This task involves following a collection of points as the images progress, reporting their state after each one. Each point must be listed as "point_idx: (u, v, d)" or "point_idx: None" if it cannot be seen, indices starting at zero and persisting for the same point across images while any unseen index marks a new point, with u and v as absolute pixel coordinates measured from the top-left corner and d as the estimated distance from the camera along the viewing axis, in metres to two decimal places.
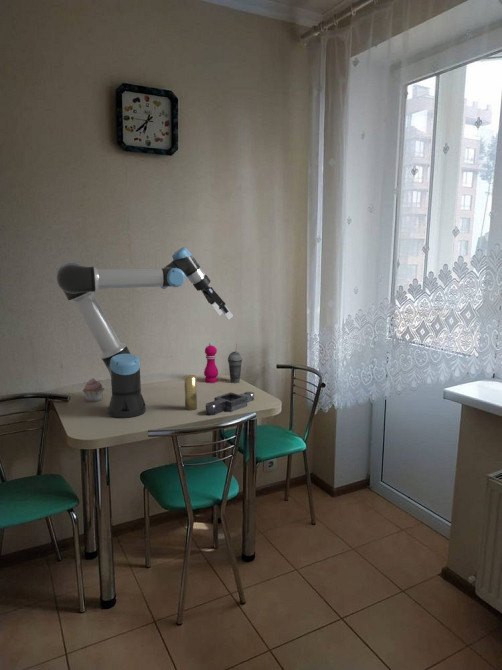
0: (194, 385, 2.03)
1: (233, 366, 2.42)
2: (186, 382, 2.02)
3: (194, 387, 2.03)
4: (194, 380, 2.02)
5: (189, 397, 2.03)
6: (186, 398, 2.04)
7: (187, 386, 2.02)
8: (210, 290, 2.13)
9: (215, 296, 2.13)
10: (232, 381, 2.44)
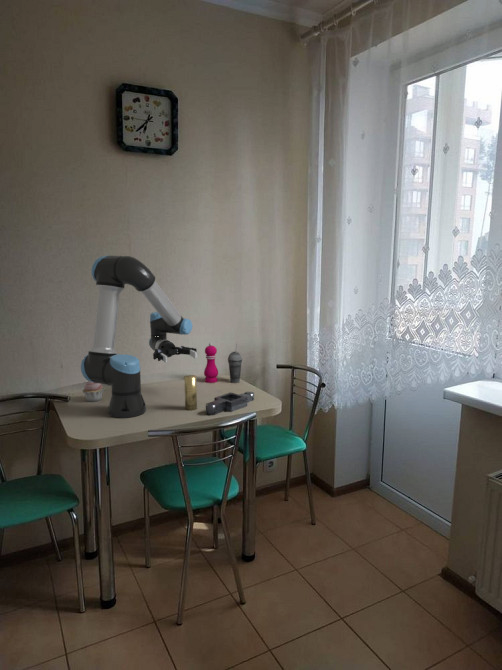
0: (194, 385, 2.03)
1: (233, 366, 2.42)
2: (186, 382, 2.02)
3: (194, 387, 2.03)
4: (194, 380, 2.02)
5: (189, 397, 2.03)
6: (186, 398, 2.04)
7: (187, 386, 2.02)
8: None
9: None
10: (232, 381, 2.44)
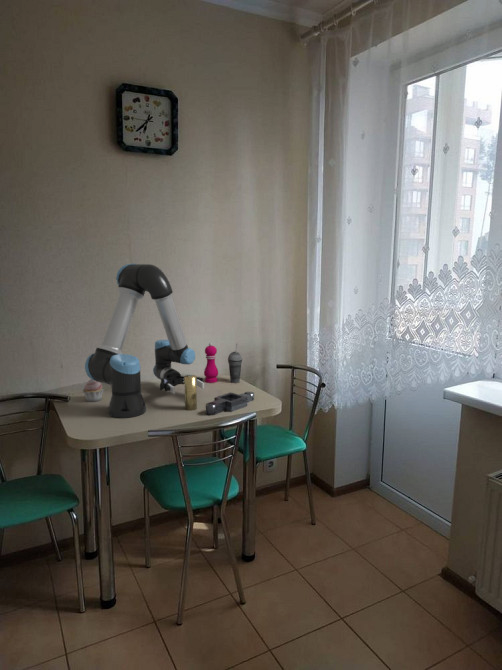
0: (194, 385, 2.03)
1: (233, 366, 2.42)
2: (186, 382, 2.02)
3: (194, 387, 2.03)
4: (194, 380, 2.02)
5: (189, 397, 2.03)
6: (186, 398, 2.04)
7: (187, 386, 2.02)
8: None
9: None
10: (232, 381, 2.44)
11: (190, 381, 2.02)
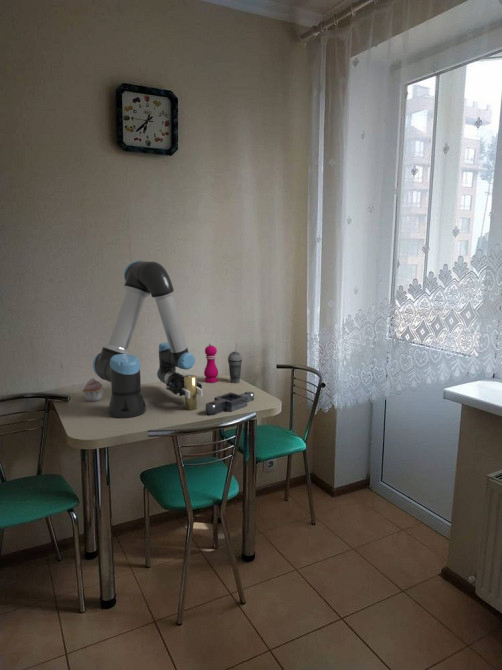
0: (194, 385, 2.03)
1: (233, 366, 2.42)
2: (186, 382, 2.02)
3: (194, 387, 2.03)
4: (194, 380, 2.02)
5: None
6: (186, 398, 2.04)
7: (187, 386, 2.02)
8: None
9: None
10: (232, 381, 2.44)
11: (190, 381, 2.02)
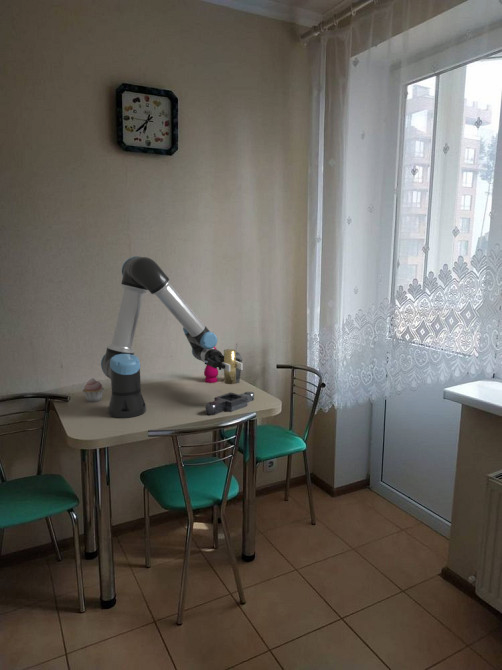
0: (234, 359, 2.04)
1: None
2: (226, 356, 2.03)
3: (234, 361, 2.04)
4: (234, 354, 2.04)
5: None
6: (226, 372, 2.05)
7: (226, 360, 2.04)
8: None
9: None
10: None
11: (230, 355, 2.03)
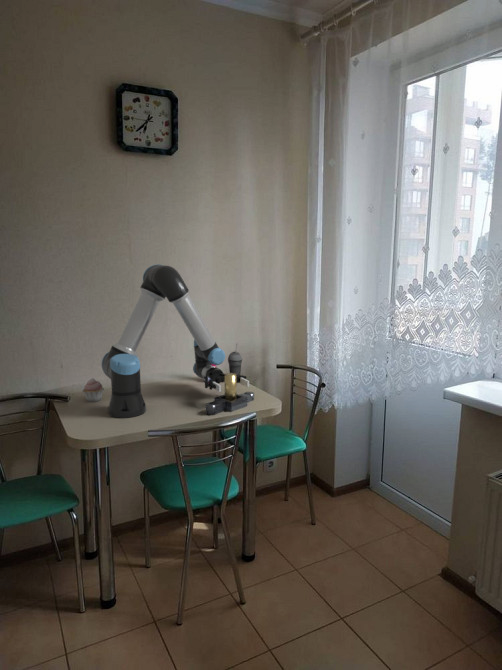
0: (234, 383, 2.06)
1: (233, 366, 2.42)
2: (227, 380, 2.05)
3: (234, 385, 2.06)
4: (234, 378, 2.05)
5: (229, 394, 2.06)
6: (226, 396, 2.06)
7: (227, 385, 2.05)
8: None
9: None
10: None
11: (231, 379, 2.04)
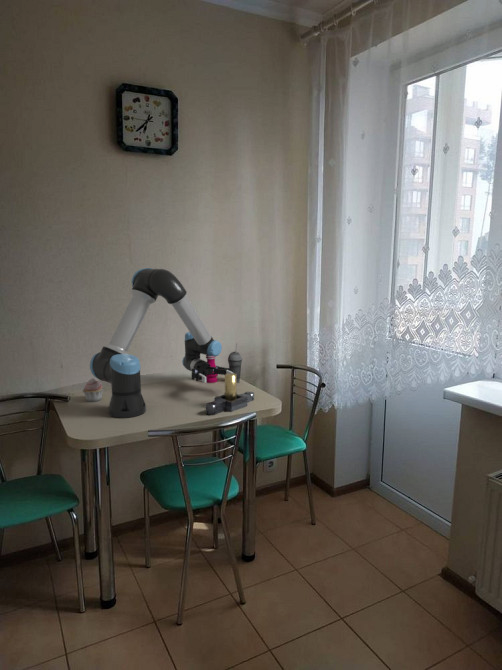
0: (234, 383, 2.06)
1: (233, 366, 2.42)
2: (227, 380, 2.05)
3: (234, 385, 2.06)
4: (234, 378, 2.05)
5: (229, 394, 2.06)
6: (226, 396, 2.06)
7: (227, 385, 2.05)
8: None
9: None
10: None
11: (231, 379, 2.04)
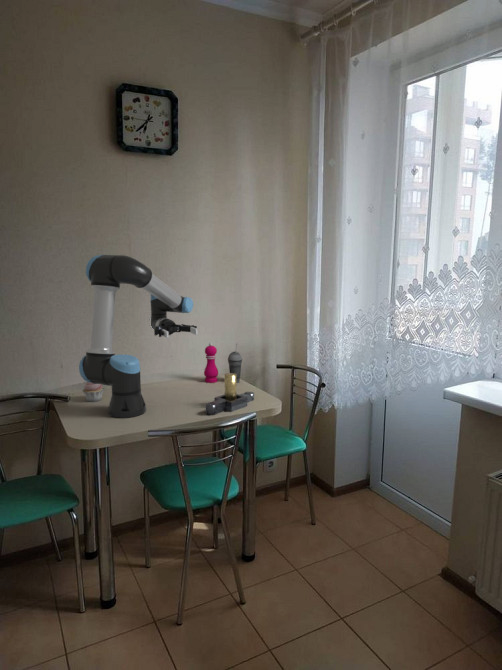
0: (234, 383, 2.06)
1: (233, 366, 2.42)
2: (227, 380, 2.05)
3: (234, 385, 2.06)
4: (234, 378, 2.05)
5: (229, 394, 2.06)
6: (226, 396, 2.06)
7: (227, 384, 2.05)
8: None
9: None
10: None
11: (231, 379, 2.04)
